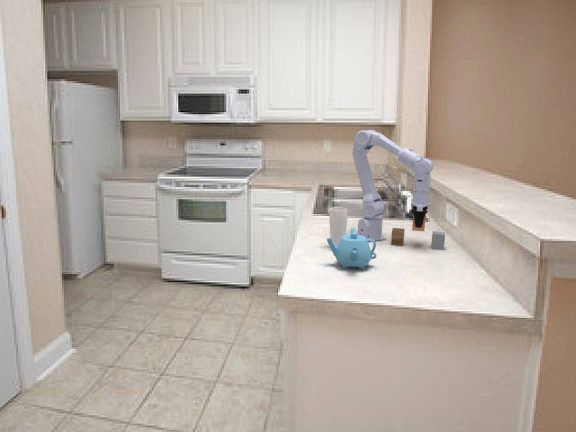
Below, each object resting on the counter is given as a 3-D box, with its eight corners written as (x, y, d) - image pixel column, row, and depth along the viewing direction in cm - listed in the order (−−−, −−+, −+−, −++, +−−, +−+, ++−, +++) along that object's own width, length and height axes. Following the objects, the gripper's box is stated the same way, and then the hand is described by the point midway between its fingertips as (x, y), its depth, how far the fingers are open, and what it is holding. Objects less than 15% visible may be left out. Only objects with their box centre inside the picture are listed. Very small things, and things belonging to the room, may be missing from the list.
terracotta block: (424, 231, 165) (425, 216, 164) (412, 230, 167) (413, 215, 165) (424, 228, 170) (425, 213, 168) (412, 227, 171) (413, 212, 170)
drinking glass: (325, 245, 169) (326, 207, 165) (340, 243, 171) (342, 206, 168) (333, 250, 163) (335, 211, 159) (349, 248, 165) (351, 209, 162)
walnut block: (402, 246, 169) (403, 231, 168) (391, 245, 170) (391, 230, 169) (403, 243, 173) (404, 228, 172) (391, 242, 175) (392, 227, 173)
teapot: (321, 263, 148) (322, 231, 146) (350, 256, 156) (352, 225, 154) (353, 276, 136) (354, 241, 134) (383, 268, 144) (385, 235, 142)
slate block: (443, 250, 165) (445, 234, 163) (431, 249, 166) (432, 233, 165) (443, 247, 169) (444, 232, 168) (431, 245, 170) (432, 231, 169)
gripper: (432, 194, 157) (429, 231, 160) (432, 188, 170) (429, 222, 173) (412, 193, 159) (409, 229, 162) (413, 187, 172) (411, 221, 175)
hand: (418, 225), depth 168 cm, fingers closed on terracotta block, 4 cm apart
